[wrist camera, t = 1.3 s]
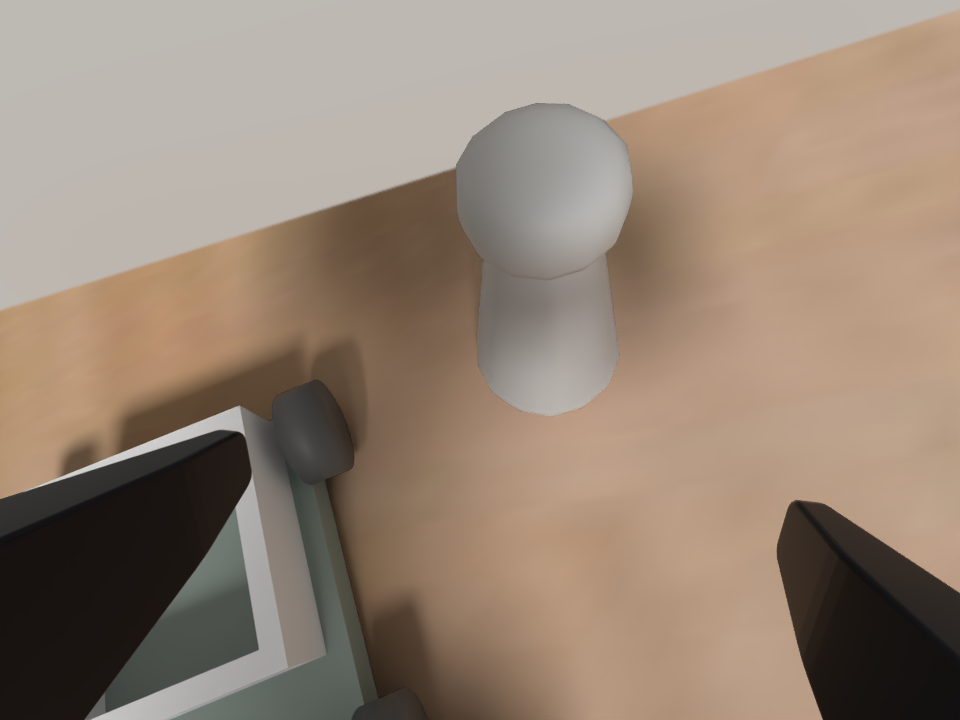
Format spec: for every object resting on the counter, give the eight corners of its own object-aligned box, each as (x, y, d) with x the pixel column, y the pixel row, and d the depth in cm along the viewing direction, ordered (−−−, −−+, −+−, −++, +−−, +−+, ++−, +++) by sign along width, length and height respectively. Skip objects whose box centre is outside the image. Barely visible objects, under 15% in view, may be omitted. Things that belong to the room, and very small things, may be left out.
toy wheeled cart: (452, 805, 18) (421, 873, 14) (60, 971, 17) (-92, 1093, 13) (339, 397, 24) (296, 360, 20) (52, 513, 24) (-52, 499, 20)
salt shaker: (585, 451, 22) (623, 299, 10) (463, 402, 23) (370, 221, 12) (630, 333, 24) (706, 85, 12) (513, 296, 25) (478, 43, 13)
